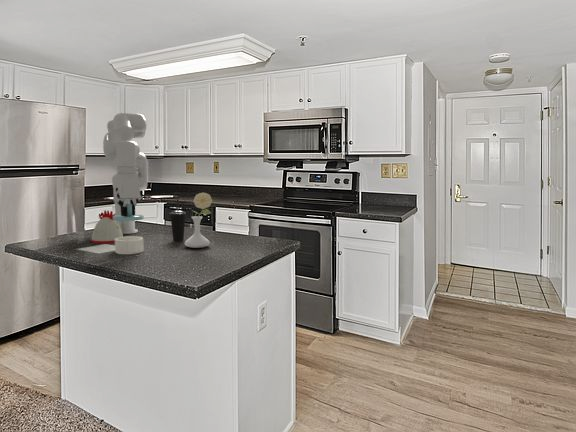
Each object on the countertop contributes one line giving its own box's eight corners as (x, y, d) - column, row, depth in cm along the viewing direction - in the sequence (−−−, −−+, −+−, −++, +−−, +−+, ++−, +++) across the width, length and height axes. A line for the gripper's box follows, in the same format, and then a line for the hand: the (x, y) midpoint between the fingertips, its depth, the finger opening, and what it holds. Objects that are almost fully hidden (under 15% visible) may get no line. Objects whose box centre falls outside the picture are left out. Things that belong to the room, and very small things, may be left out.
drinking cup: (177, 242, 201) (176, 200, 199) (167, 240, 206) (166, 199, 203) (189, 240, 207) (189, 199, 205) (179, 238, 212) (178, 198, 209)
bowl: (109, 253, 177) (109, 239, 176) (131, 248, 186) (131, 235, 186) (127, 256, 171) (126, 242, 171) (148, 251, 181) (148, 238, 180)
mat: (76, 250, 181) (76, 249, 181) (105, 245, 193) (105, 243, 193) (98, 255, 174) (98, 253, 174) (127, 249, 186) (127, 247, 185)
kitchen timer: (112, 245, 193) (110, 212, 192) (85, 243, 196) (83, 211, 194) (129, 239, 207) (128, 209, 205) (103, 238, 210) (102, 208, 208)
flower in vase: (180, 249, 188) (179, 192, 184) (190, 244, 199) (189, 190, 195) (208, 250, 185) (207, 193, 182) (217, 245, 196) (216, 191, 193)
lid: (106, 219, 175) (105, 204, 174) (130, 216, 185) (130, 202, 184) (126, 221, 169) (125, 206, 168) (149, 218, 179) (149, 203, 178)
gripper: (136, 170, 183) (138, 213, 185) (103, 171, 169) (105, 216, 171) (148, 171, 179) (150, 214, 182) (115, 171, 165) (117, 218, 168)
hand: (128, 215), depth 177 cm, fingers closed on lid, 3 cm apart
